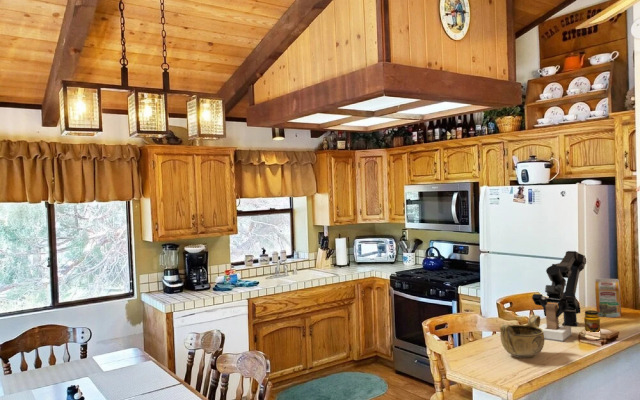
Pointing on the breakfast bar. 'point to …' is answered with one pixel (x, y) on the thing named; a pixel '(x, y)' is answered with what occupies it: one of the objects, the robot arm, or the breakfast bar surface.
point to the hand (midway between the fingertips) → (551, 316)
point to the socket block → (556, 333)
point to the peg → (552, 316)
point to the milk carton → (608, 298)
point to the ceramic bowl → (523, 338)
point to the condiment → (592, 321)
